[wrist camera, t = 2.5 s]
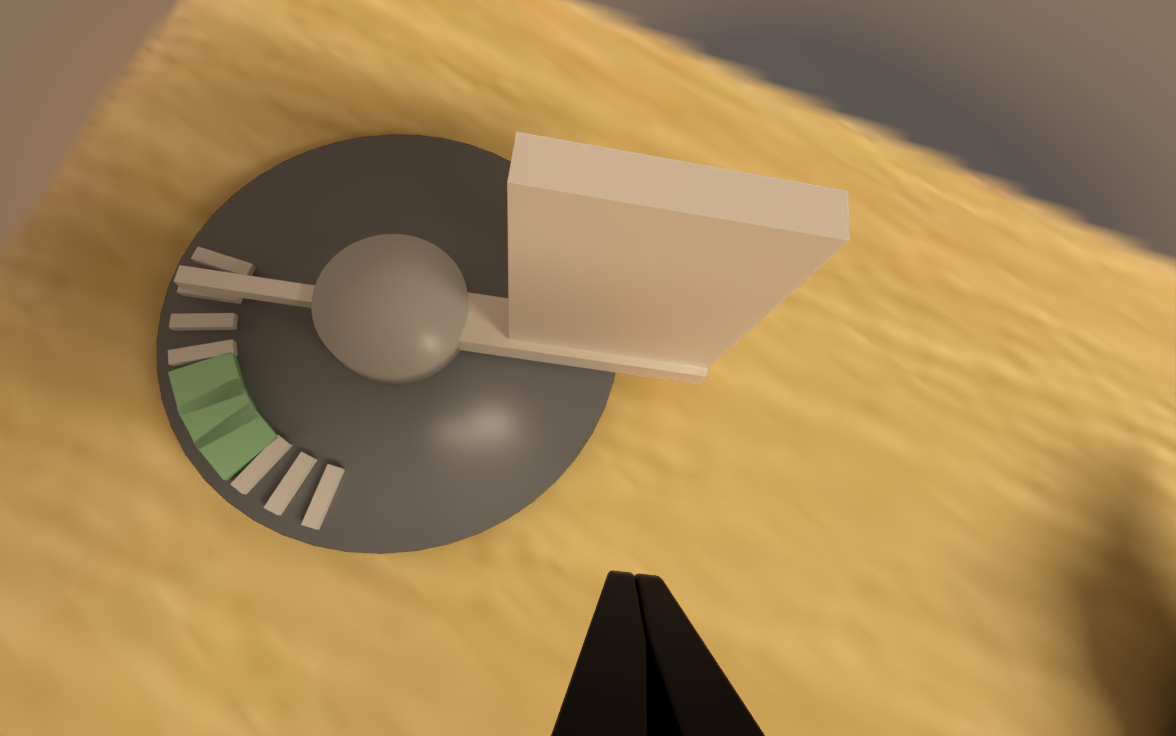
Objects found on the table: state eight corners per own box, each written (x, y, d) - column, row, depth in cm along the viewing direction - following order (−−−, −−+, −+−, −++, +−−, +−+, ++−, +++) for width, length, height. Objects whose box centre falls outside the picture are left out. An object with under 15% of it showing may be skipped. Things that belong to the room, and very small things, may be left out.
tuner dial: (376, 662, 18) (367, 670, 17) (71, 317, 20) (47, 305, 19) (697, 338, 23) (706, 328, 22) (425, 83, 25) (422, 63, 24)
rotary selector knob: (168, 354, 19) (-168, 167, 10) (214, 223, 21) (-38, -52, 11) (696, 427, 21) (852, 326, 11) (703, 299, 22) (845, 117, 13)
